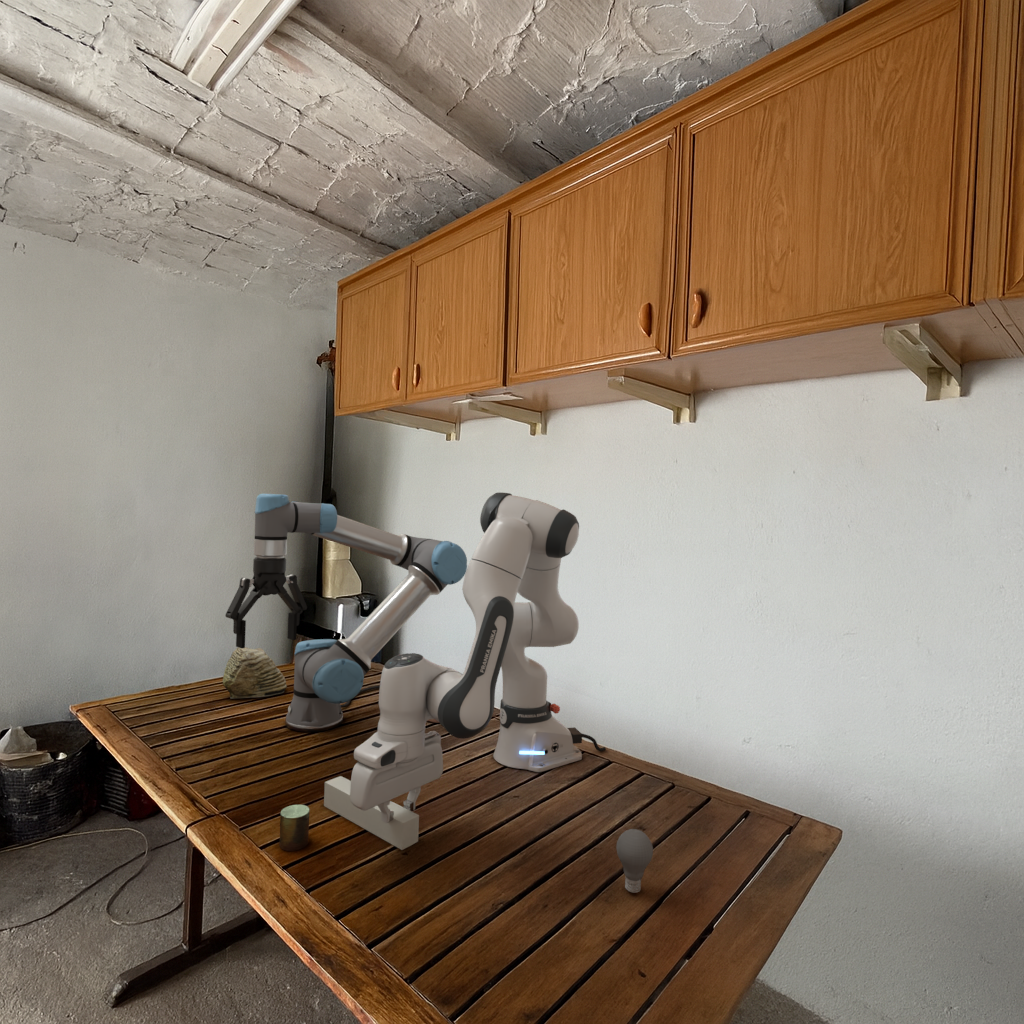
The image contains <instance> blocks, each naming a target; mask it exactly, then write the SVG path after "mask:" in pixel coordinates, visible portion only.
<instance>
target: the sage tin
mask: <svg viewBox="0 0 1024 1024" xmlns="http://www.w3.org/2000/svg"><path fill="white" fill-rule="evenodd" d="M279 819H280V820H279V842H278V843H279V846H278V847H279V848H280V849H281V850H283V851H286V852H295V851H300V850H302V849H305V848H306V847H307V845H308V844H309V837H310V836H309V833H310V807H309V806H307V805H305V804H292V805H289V806H288V805H287V806H285V807H284V808H282V809H281V811H280V817H279Z"/></svg>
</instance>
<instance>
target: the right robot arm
mask: <svg viewBox="0 0 1024 1024" xmlns="http://www.w3.org/2000/svg"><path fill="white" fill-rule="evenodd" d="M479 523H480V527H481V530H482V532H483V535H481V539H479V542H478V543H477V545H476V548H475V549H474V551H473V554H472V556H471V559H470V561H469V563H468V565H467V570H466V573H465V575H464V576H463V583H462V589H461V590H462V595H463V598H464V600H465V602H466V604H467V605H468V607H469V608H470V611H471V612H472V614H473V617H474V620H475V635H474V638H473V642H472V645H471V648H470V651H469V654H468V658H467V661H466V665H465V668H464V671H463V673H462V672H460V671H458V670H456V669H455V668H453V667H449V666H445V665H440V664H436V663H434V662H432V661H430V660H428V659H427V658H425V657H424V656H423V655H422V654H420V653H417V652H416V653H414V652H412V653H402V654H397V655H395V656H392V657H391V658H389V659H388V660H387V661H386V662H385V664H384V665H383V667H382V670H381V675H380V680H379V685H380V688H378V689H379V690H378V708H379V720H378V723H377V731H376V732H374V733H373V734H372V735H371V736H370V737H368V738H367V739H366V740H365V741H364V742H363V743H361V744H359V745H358V746H356V748H354V751H353V759H354V760H356V761H357V762H356V763H355V764H354V766H353V768H352V771H351V778H350V781H351V786H350V801H351V803H352V804H353V805H354V806H355V807H357V808H359V809H361V810H363V811H366V810H368V809H370V808H373V807H375V806H377V805H378V807H379V809H380V811H381V820H382V821H383V822H385V823H388V822H390V821H392V820H393V818H394V817H393V815H394V811H392V810H390V809H389V808H388V806H387V805H390V801H392V800H393V799H395V798H397V797H400V796H403V795H404V794H407V793H408V794H407V797H406V799H405V800H403V807H404V808H406V809H408V810H410V811H412V812H414V811H415V810H416V802H417V800H418V798H419V796H420V793H421V791H422V786H425V785H428V784H429V783H432V782H434V781H436V780H438V779H441V777H442V774H443V773H444V756H443V749H442V736H441V735H440V733H439V732H437V731H436V730H430V731H428V732H427V733H426V724H427V722H428V721H427V720H429V719H436V720H437V721H438V722H439V723H438V724H440V725H441V726H442V727H443V728H444V730H445V731H446V732H447V733H448V734H449V735H451V736H452V737H454V738H457V739H462V740H463V739H469V738H472V737H475V736H477V735H479V734H480V733H481V732H483V731H484V730H485V728H487V726H488V725H489V723H490V722H491V720H492V717H493V715H494V710H495V703H496V702H495V699H496V687H497V682H498V679H499V675H500V671H501V675H502V677H501V678H502V696H501V697H502V698H501V700H500V706H499V724H500V725H499V731H498V737H497V741H496V744H495V745H496V746H495V749H494V751H493V754H492V757H493V759H494V760H495V762H496V763H499V764H501V765H502V766H505V767H509V768H513V769H518V770H519V769H521V770H526V771H527V770H528V771H531V772H533V773H542V772H546V771H549V770H552V769H556V768H559V767H562V766H566V765H568V764H571V763H575V762H578V761H581V760H582V759H583V753H582V752H581V750H580V749H579V747H577V746H576V745H578V744H583V738H585V739H587V740H589V741H590V742H592V744H593V746H594V748H595V750H596V751H598V752H601V753H603V752H606V751H607V748H606V747H605V746H604V747H600V746H599V745H598V742H597V740H596V739H595V738H594V737H592V736H591V735H588V734H585V733H582V732H581V731H579V730H578V729H577V728H576V727H566V725H564V724H563V723H562V722H561V721H560V720H559V719H557V718H556V717H554V716H553V714H552V712H553V713H554V714H559V713H560V711H561V707H560V706H559V705H558V704H556V703H552V702H550V701H548V700H547V697H548V673H547V670H546V669H545V667H544V666H543V665H542V664H541V663H539V662H537V660H535V659H532V658H530V657H528V656H527V655H526V653H525V652H526V651H525V650H526V648H556V647H561V646H565V645H570V644H572V643H573V641H574V640H575V639H576V637H577V635H578V633H579V629H580V627H579V626H580V623H579V618H578V615H577V613H576V611H575V610H574V608H572V607H571V606H570V605H569V604H567V603H566V602H565V601H564V599H563V598H562V596H561V594H560V591H559V577H560V569H561V563H562V558H565V557H567V556H568V555H570V554H571V553H572V551H573V549H574V548H575V547H576V545H577V543H578V539H579V536H580V534H579V533H580V522H579V520H578V518H577V516H576V515H574V514H573V513H571V512H570V511H568V510H566V509H564V508H563V509H561V508H558V507H556V506H554V505H551V504H549V503H547V502H543V501H542V500H539V499H538V500H537V499H531V498H528V497H522V496H520V495H519V496H518V495H513V494H512V493H510V492H495V493H493V494H492V495H490V496H489V497H488V498H487V499H486V500H485V502H484V504H483V506H482V509H481V512H480V518H479ZM517 594H519V596H521V597H522V598H524V599H525V600H527V601H528V602H520V601H516V598H517ZM575 744H576V745H575Z"/></svg>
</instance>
